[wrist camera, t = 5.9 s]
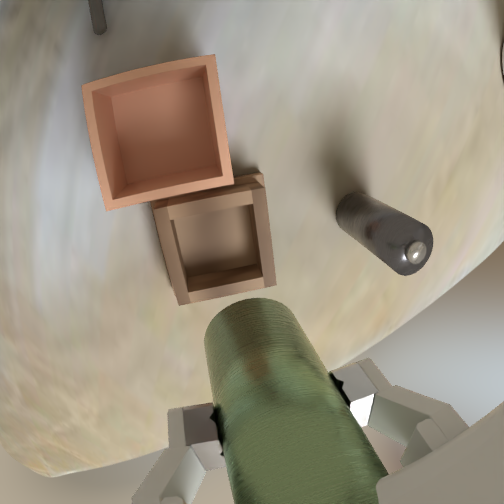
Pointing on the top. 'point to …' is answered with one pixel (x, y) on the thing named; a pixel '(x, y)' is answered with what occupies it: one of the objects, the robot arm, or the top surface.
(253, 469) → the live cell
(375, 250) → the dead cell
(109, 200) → the cup
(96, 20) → the walkie-talkie
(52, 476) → the top surface
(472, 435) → the robot arm
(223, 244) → the cell holder
